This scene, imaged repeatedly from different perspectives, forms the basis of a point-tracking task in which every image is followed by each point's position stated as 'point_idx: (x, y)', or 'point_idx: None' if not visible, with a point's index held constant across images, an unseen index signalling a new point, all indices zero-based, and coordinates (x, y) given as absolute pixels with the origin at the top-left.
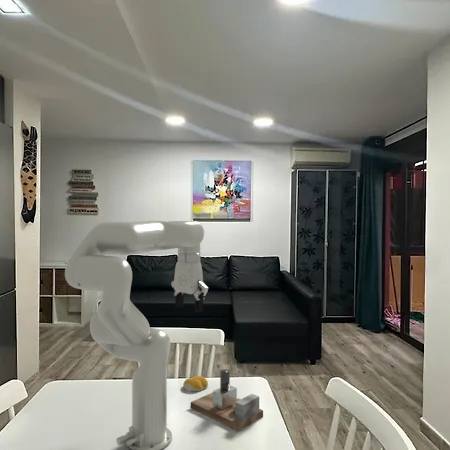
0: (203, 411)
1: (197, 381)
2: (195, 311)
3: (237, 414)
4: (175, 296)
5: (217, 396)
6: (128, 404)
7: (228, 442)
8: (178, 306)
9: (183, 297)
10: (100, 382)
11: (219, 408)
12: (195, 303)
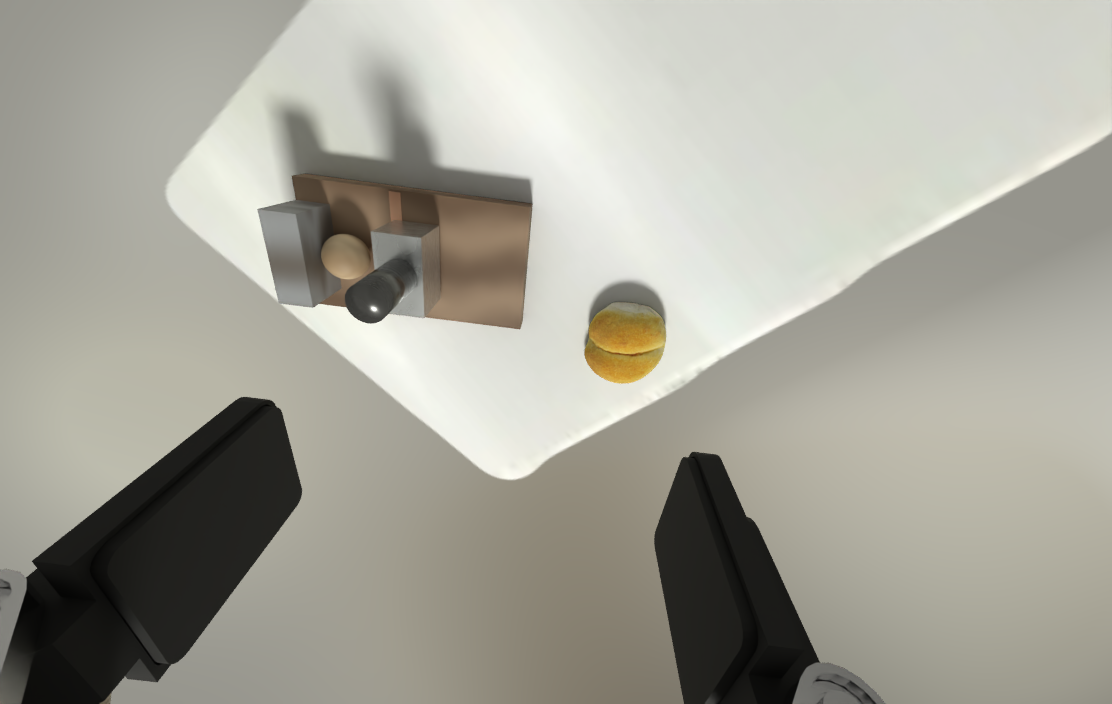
0: (463, 196)
1: (606, 338)
2: (245, 401)
3: (309, 205)
4: (798, 644)
5: (402, 231)
6: (765, 66)
7: (268, 88)
8: (680, 486)
9: (681, 685)
10: (1029, 148)
11: (406, 221)
12: (126, 501)
